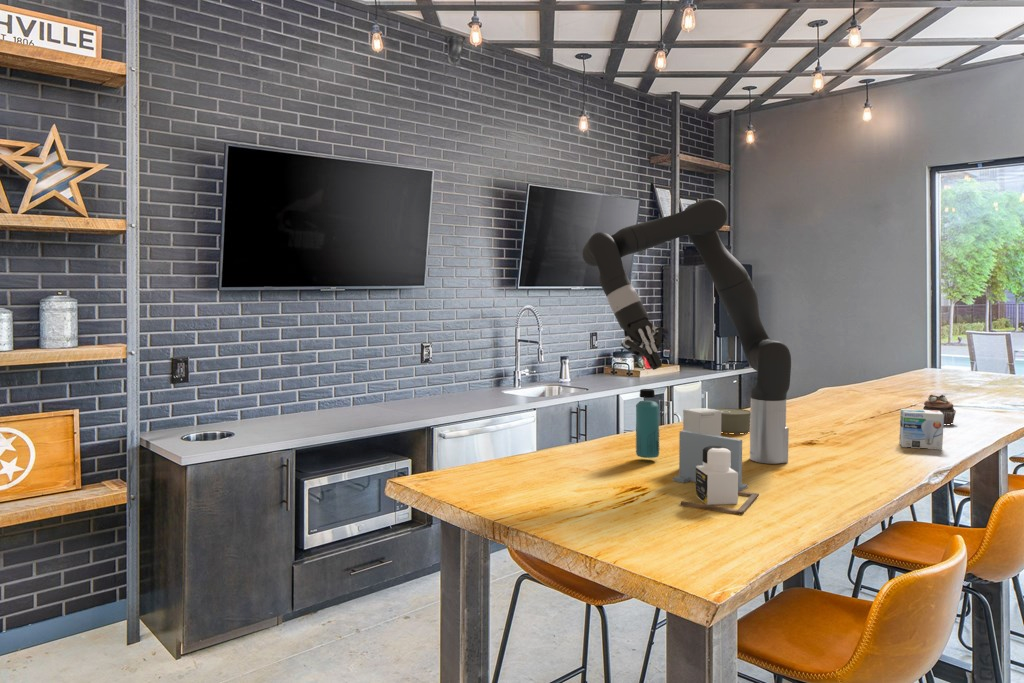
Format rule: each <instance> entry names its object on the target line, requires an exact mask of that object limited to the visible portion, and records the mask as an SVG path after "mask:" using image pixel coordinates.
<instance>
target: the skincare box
mask: <svg viewBox="0 0 1024 683" xmlns="http://www.w3.org/2000/svg"><path fill="white" fill-rule="evenodd" d="M682 412H683V415H682V416H683V417H682V418H683V421H682V423H683V425H682V428H683V429H682V430H684V431H690V432H697V433H703V434H709V435H716V436H722V434H721V412H722V411H720V410H715V409H713V408H706V407H703V408H700V407H699V408H686V409H685V408H684V409H683V410H682Z"/></svg>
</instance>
